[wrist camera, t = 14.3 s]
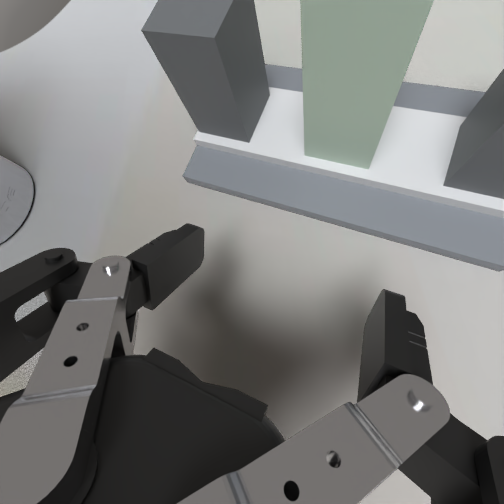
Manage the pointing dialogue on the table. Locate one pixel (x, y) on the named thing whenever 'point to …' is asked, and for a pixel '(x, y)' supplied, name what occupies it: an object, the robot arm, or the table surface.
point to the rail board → (327, 172)
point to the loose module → (354, 72)
